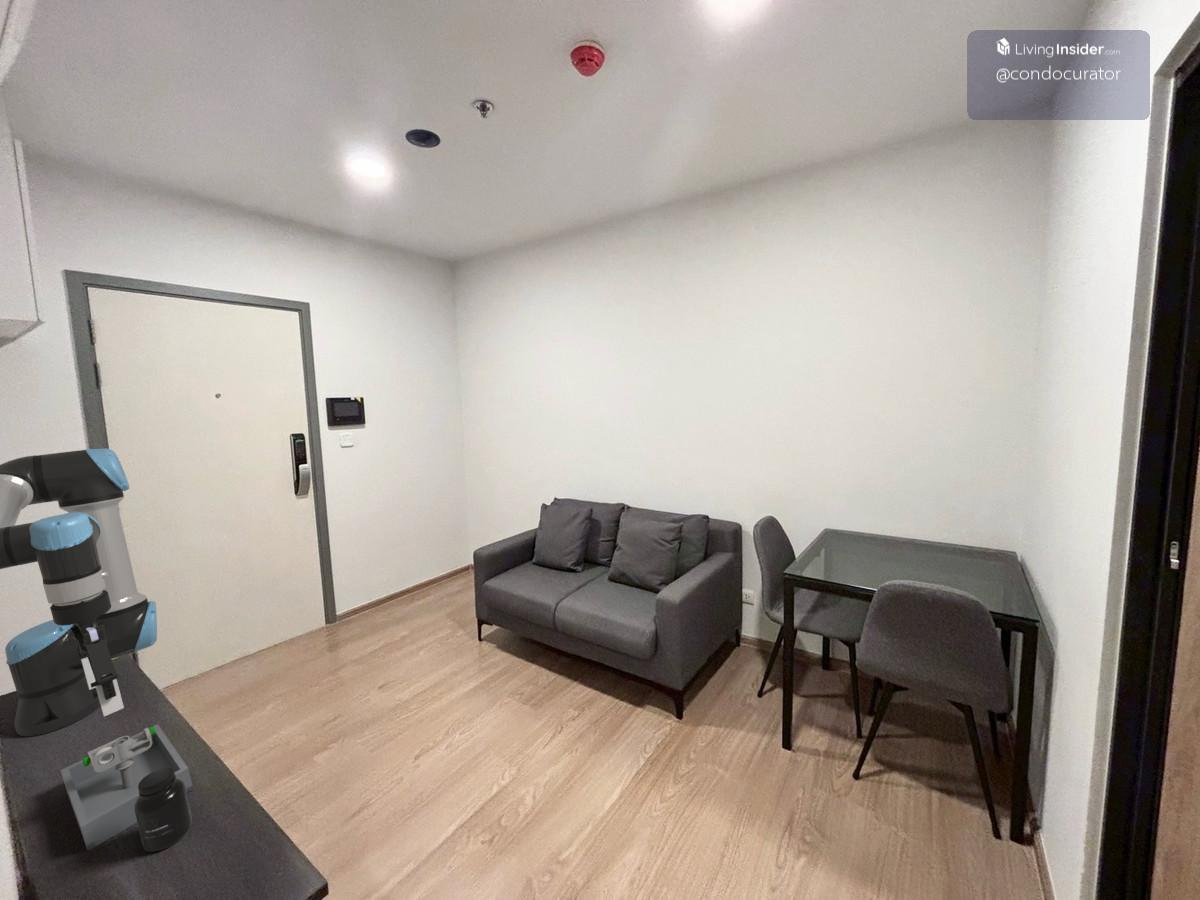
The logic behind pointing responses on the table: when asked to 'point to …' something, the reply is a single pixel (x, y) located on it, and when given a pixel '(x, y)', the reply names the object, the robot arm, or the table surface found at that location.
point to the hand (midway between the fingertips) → (105, 698)
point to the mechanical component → (120, 755)
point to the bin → (117, 789)
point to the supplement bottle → (162, 810)
